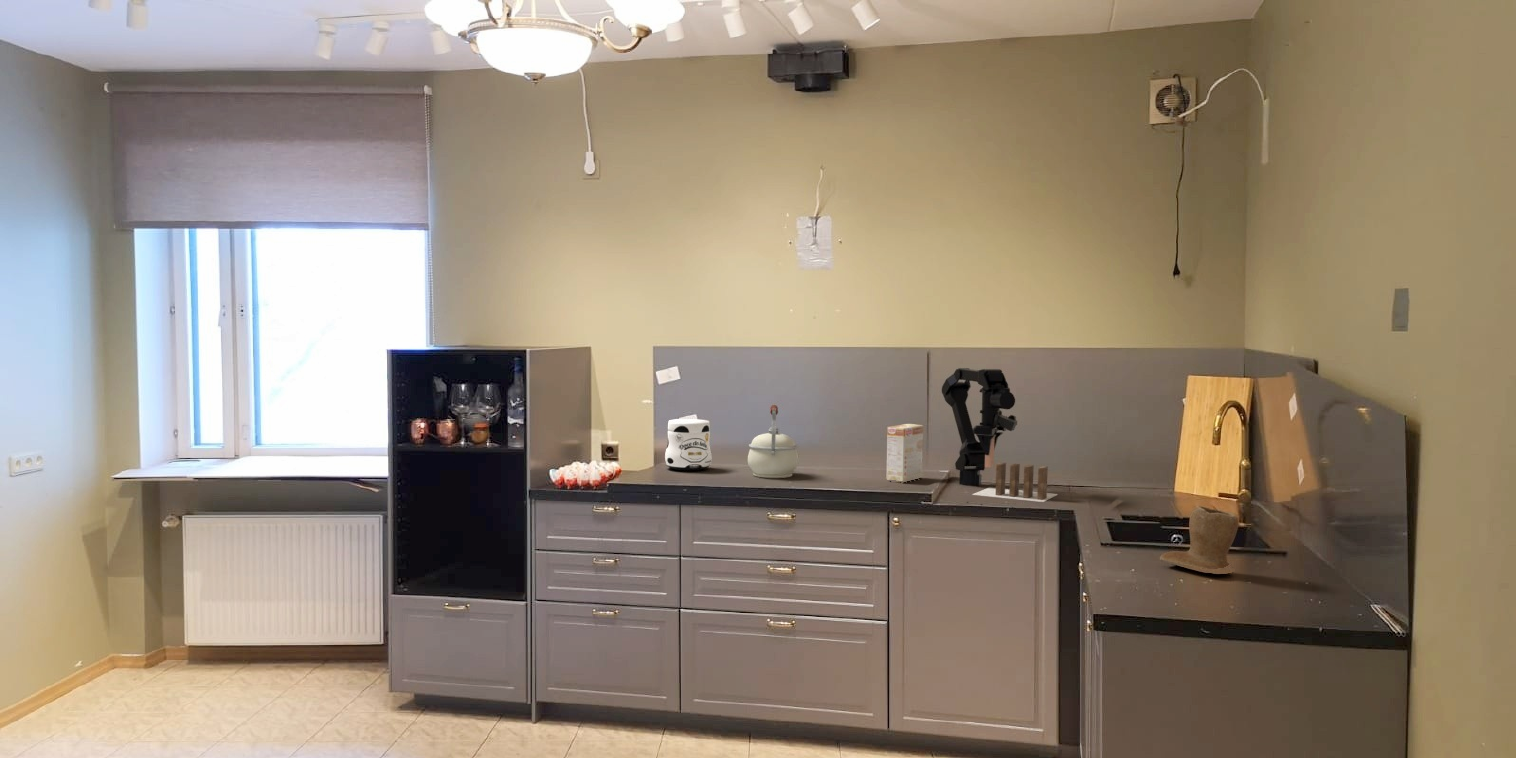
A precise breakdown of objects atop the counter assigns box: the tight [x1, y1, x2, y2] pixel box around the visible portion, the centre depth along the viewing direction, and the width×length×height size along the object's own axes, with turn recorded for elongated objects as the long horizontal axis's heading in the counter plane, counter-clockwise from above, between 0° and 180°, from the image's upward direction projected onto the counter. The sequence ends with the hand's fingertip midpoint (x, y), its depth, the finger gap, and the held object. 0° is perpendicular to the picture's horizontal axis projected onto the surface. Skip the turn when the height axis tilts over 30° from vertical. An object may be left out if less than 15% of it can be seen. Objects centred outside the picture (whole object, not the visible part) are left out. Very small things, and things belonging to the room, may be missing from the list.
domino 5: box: [1037, 465, 1049, 500], centre depth 337 cm, size 2×5×10 cm, turn 150°
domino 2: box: [995, 462, 1007, 496], centre depth 344 cm, size 2×5×10 cm, turn 150°
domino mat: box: [971, 486, 1058, 503], centre depth 345 cm, size 23×18×1 cm
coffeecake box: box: [886, 423, 924, 481], centre depth 379 cm, size 15×7×20 cm, turn 144°
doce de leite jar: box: [664, 418, 713, 471], centre depth 395 cm, size 17×17×18 cm
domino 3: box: [1009, 463, 1021, 497], centre depth 342 cm, size 2×5×10 cm, turn 150°
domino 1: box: [985, 437, 995, 468], centre depth 352 cm, size 2×5×10 cm, turn 152°
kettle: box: [747, 404, 799, 479], centre depth 385 cm, size 25×18×25 cm
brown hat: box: [1159, 505, 1239, 569], centre depth 247 cm, size 15×12×15 cm
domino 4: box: [1022, 464, 1035, 498], centre depth 340 cm, size 2×5×10 cm, turn 150°
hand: (989, 454), depth 352 cm, fingers closed on domino 1, 5 cm apart
